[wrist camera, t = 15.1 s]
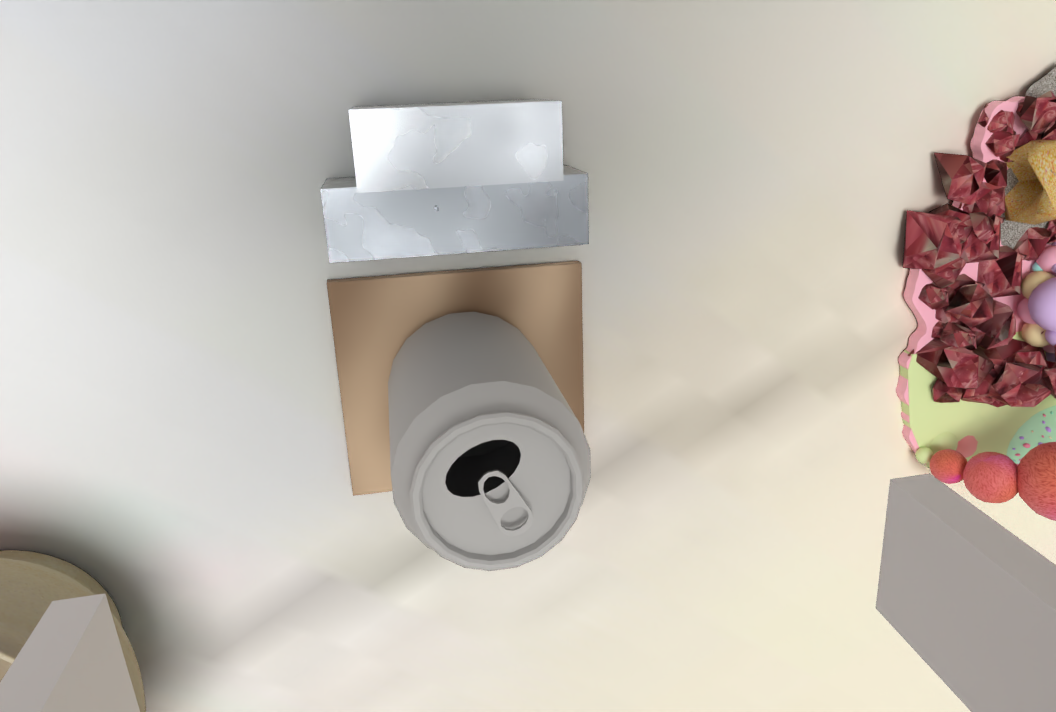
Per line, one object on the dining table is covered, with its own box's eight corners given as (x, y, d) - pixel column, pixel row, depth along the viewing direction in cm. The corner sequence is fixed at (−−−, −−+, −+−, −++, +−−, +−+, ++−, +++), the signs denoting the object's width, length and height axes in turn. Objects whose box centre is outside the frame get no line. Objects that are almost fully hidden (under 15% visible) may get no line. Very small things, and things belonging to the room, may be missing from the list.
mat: (578, 260, 38) (581, 263, 38) (581, 463, 42) (584, 468, 41) (327, 280, 36) (326, 282, 36) (353, 489, 40) (353, 495, 39)
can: (491, 277, 37) (540, 357, 26) (565, 399, 40) (638, 520, 29) (356, 358, 37) (347, 473, 26) (439, 475, 40) (463, 625, 29)
